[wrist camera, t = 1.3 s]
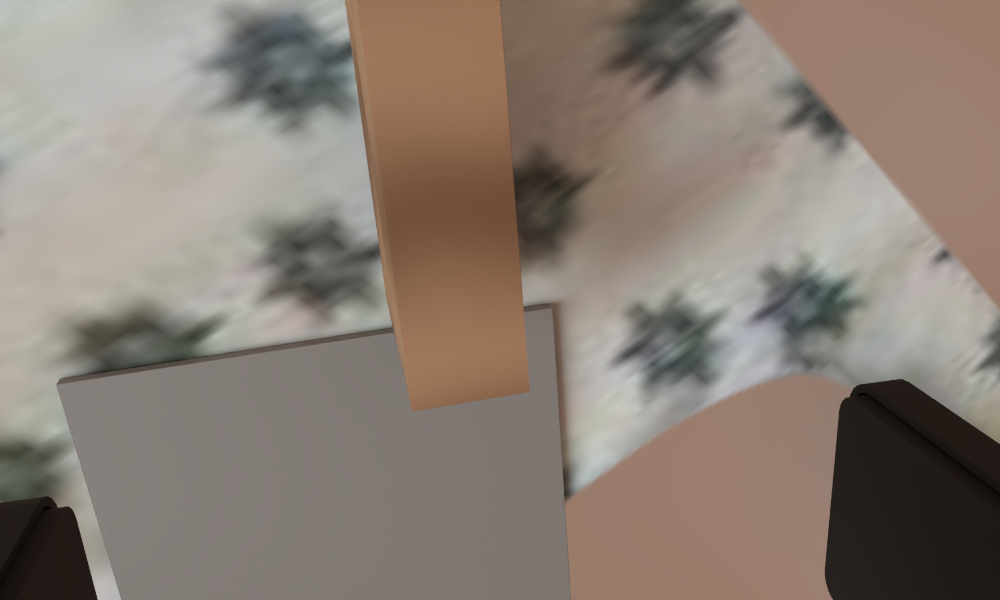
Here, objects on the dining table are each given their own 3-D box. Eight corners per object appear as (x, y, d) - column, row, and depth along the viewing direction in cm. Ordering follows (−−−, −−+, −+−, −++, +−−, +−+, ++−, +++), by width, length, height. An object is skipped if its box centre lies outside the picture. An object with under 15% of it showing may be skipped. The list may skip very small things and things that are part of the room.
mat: (59, 379, 27) (56, 384, 27) (549, 303, 30) (552, 307, 30) (159, 711, 33) (158, 719, 32) (570, 623, 35) (572, 630, 35)
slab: (341, -21, 25) (354, -18, 18) (445, -30, 26) (500, -31, 18) (386, 299, 29) (412, 411, 21) (476, 286, 29) (532, 391, 22)
